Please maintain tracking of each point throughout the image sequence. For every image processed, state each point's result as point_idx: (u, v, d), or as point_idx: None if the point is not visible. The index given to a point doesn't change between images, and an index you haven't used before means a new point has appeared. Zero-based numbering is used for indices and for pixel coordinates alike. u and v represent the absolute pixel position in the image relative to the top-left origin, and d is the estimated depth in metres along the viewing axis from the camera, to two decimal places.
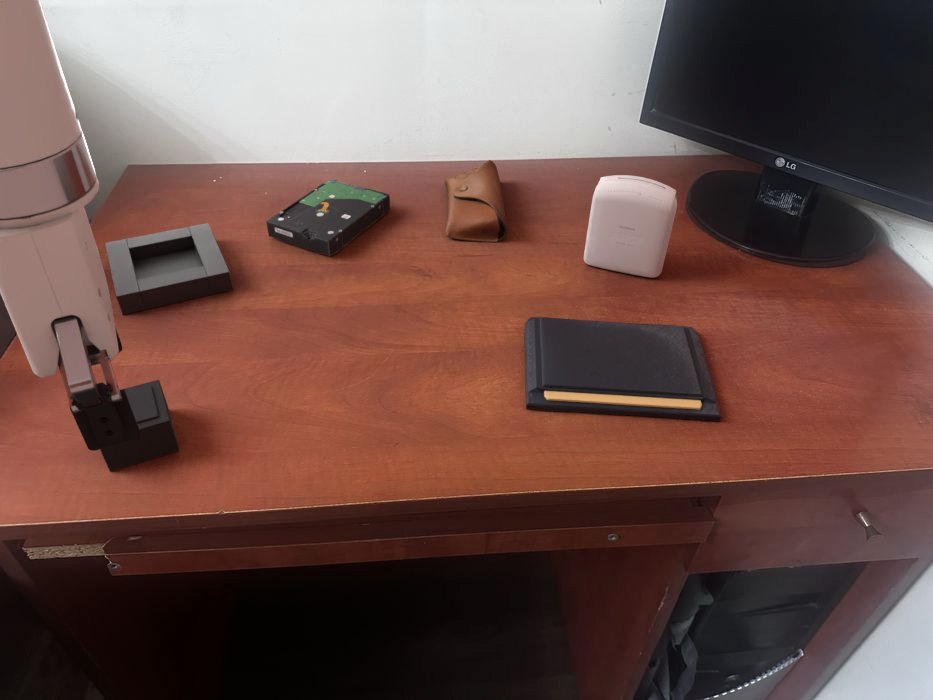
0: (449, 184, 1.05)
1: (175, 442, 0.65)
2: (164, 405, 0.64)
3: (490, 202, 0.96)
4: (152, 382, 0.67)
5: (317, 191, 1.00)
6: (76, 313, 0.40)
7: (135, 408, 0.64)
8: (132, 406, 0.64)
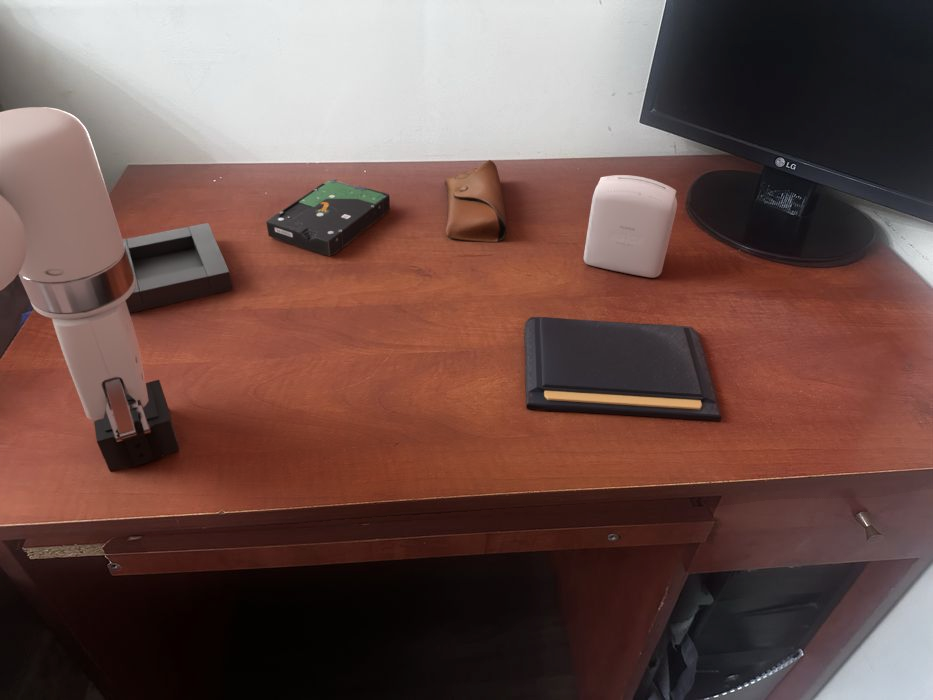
0: (449, 184, 1.05)
1: (175, 442, 0.65)
2: (164, 405, 0.64)
3: (490, 202, 0.96)
4: (152, 382, 0.67)
5: (317, 191, 1.00)
6: (121, 380, 0.56)
7: None
8: None
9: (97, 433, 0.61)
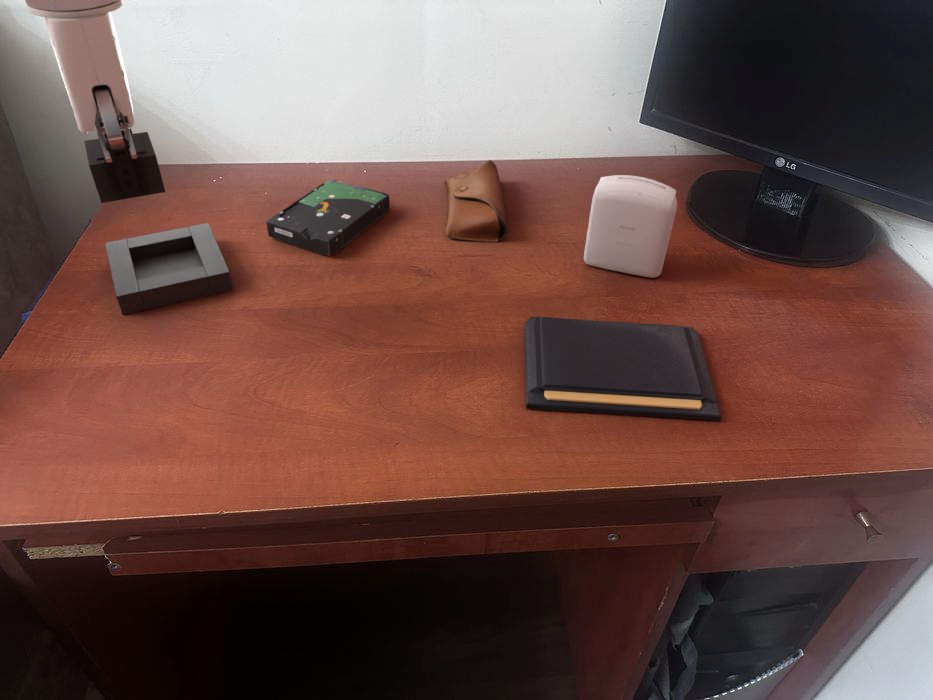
0: (449, 184, 1.05)
1: (161, 181, 0.71)
2: (151, 146, 0.70)
3: (490, 202, 0.96)
4: (141, 133, 0.73)
5: (317, 191, 1.00)
6: (109, 89, 0.62)
7: None
8: None
9: (89, 160, 0.67)
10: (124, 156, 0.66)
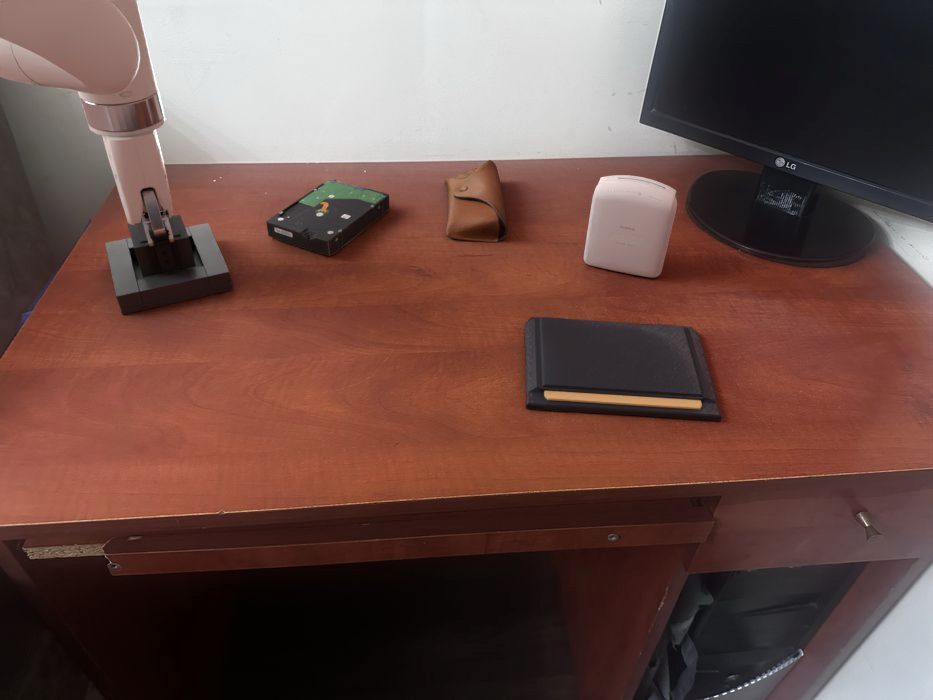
0: (449, 184, 1.05)
1: (193, 258, 0.84)
2: (184, 229, 0.84)
3: (490, 202, 0.96)
4: (175, 215, 0.86)
5: (317, 191, 1.00)
6: (154, 190, 0.75)
7: None
8: None
9: (134, 243, 0.81)
10: (164, 241, 0.79)
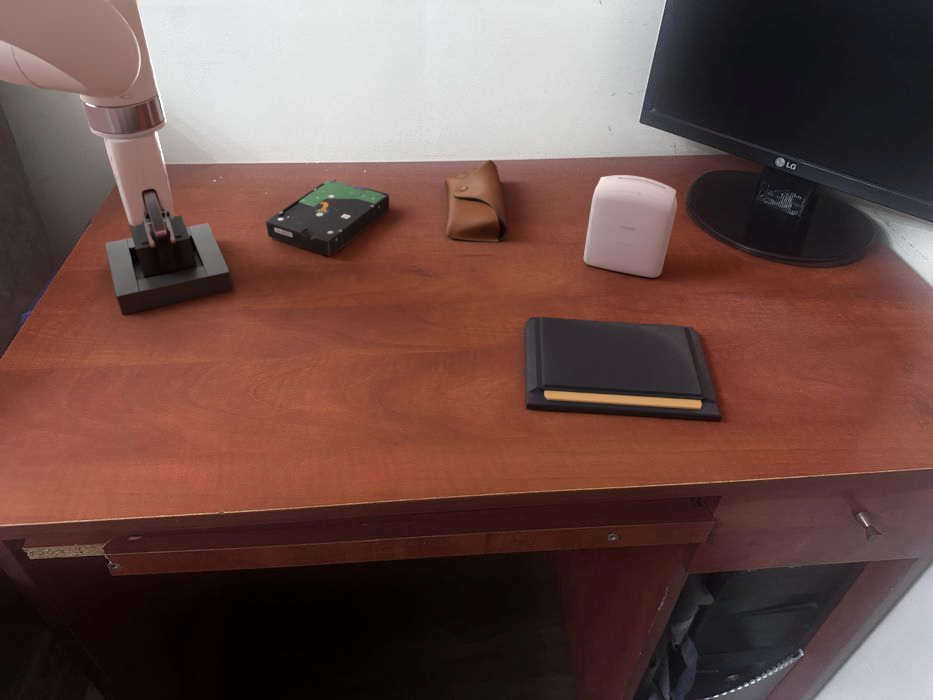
0: (449, 184, 1.05)
1: (194, 259, 0.84)
2: (186, 229, 0.84)
3: (490, 202, 0.96)
4: (176, 216, 0.86)
5: (316, 191, 1.00)
6: (155, 192, 0.76)
7: None
8: None
9: (135, 244, 0.81)
10: (165, 242, 0.79)
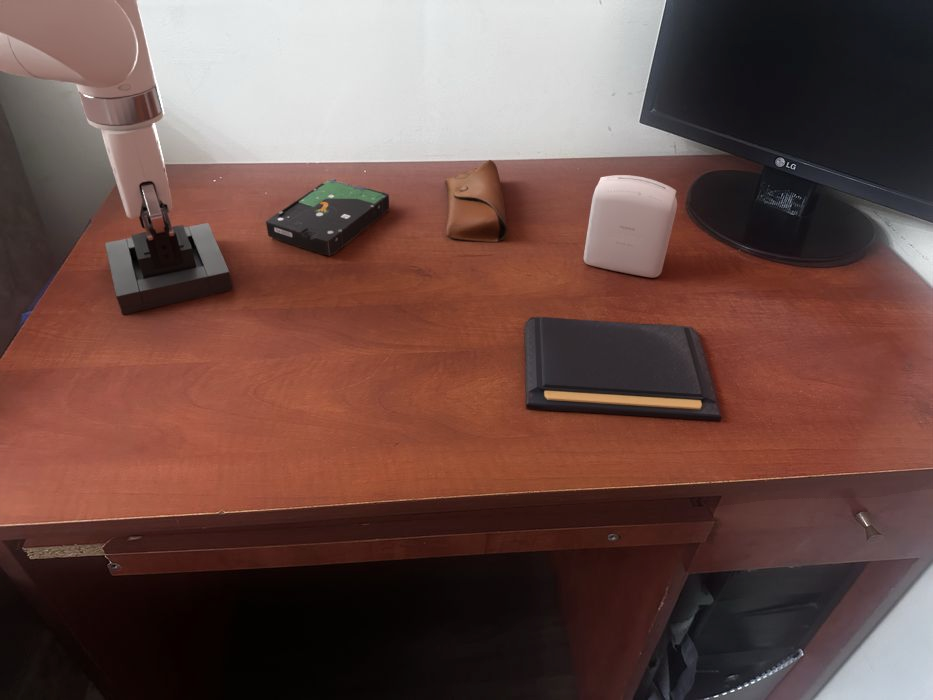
0: (449, 184, 1.05)
1: None
2: (187, 239, 0.85)
3: (490, 202, 0.96)
4: (178, 226, 0.87)
5: (316, 191, 1.00)
6: (152, 180, 0.75)
7: None
8: None
9: (138, 255, 0.82)
10: (164, 235, 0.77)
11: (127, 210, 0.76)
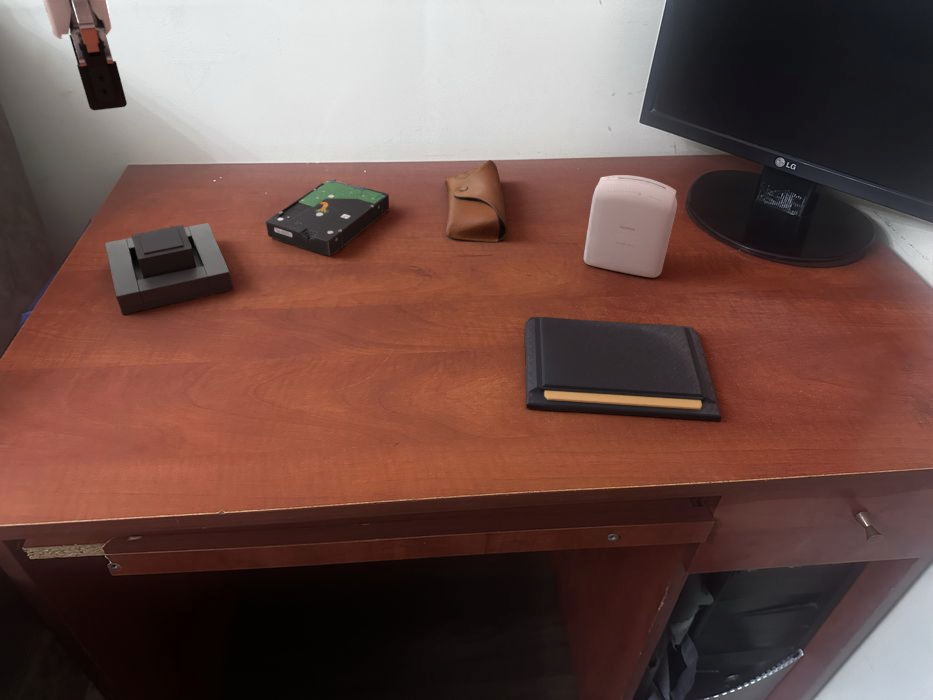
0: (449, 184, 1.05)
1: None
2: (187, 239, 0.85)
3: (490, 202, 0.96)
4: (178, 226, 0.87)
5: (316, 191, 1.00)
6: None
7: (166, 240, 0.84)
8: (163, 239, 0.84)
9: (138, 255, 0.82)
10: (99, 59, 0.62)
11: (52, 23, 0.60)
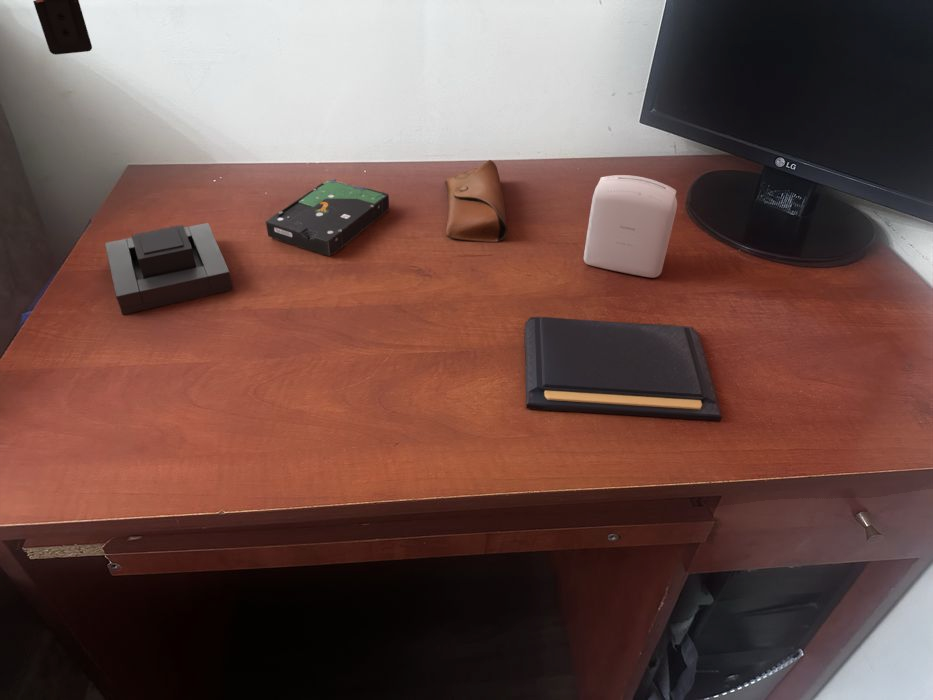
0: (449, 184, 1.05)
1: None
2: (187, 239, 0.85)
3: (490, 202, 0.96)
4: (178, 226, 0.87)
5: (316, 191, 1.00)
6: None
7: (166, 240, 0.84)
8: (163, 239, 0.84)
9: (138, 255, 0.82)
10: None
11: None
